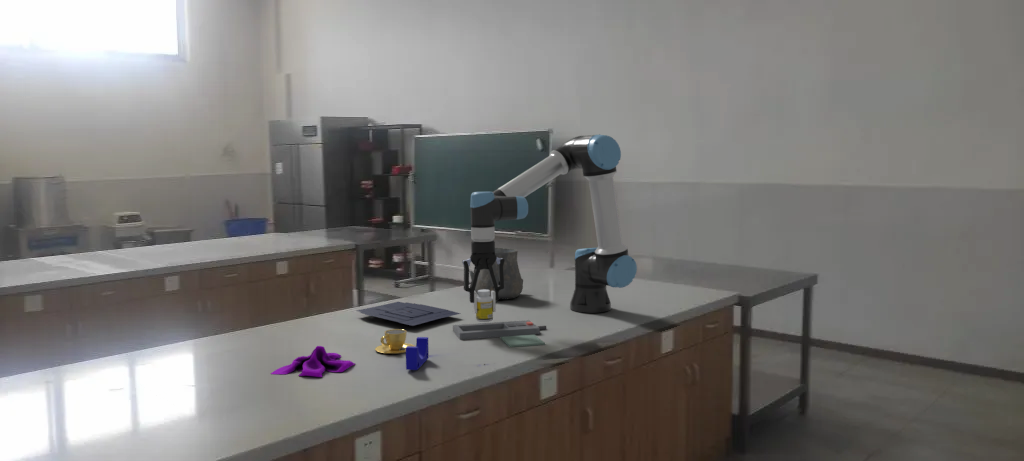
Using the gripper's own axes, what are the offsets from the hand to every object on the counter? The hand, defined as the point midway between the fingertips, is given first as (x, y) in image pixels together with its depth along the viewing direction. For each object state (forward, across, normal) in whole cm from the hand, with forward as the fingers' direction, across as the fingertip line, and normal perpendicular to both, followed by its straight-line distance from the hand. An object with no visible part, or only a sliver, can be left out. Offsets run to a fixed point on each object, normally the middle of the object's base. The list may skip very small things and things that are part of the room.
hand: (484, 311), depth 238 cm
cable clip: (+7, +26, +29) cm, 40 cm away
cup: (+7, +30, +12) cm, 33 cm away
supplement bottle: (+3, 0, 0) cm, 3 cm away
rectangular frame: (+7, -4, 0) cm, 8 cm away
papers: (+7, +22, -28) cm, 36 cm away
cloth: (+7, +53, +24) cm, 59 cm away
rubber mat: (+7, -9, +14) cm, 18 cm away
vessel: (+8, -20, -57) cm, 61 cm away
